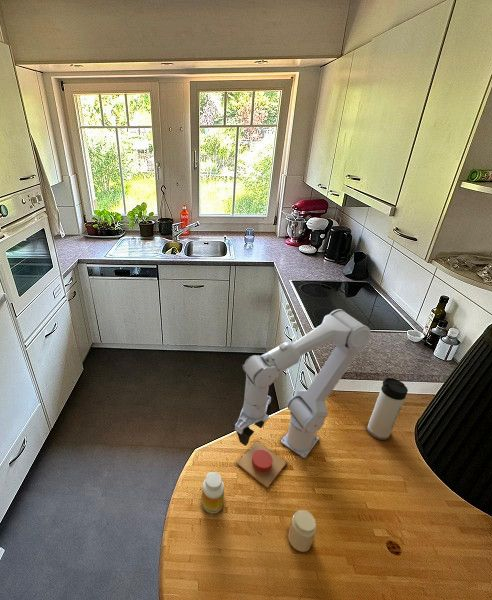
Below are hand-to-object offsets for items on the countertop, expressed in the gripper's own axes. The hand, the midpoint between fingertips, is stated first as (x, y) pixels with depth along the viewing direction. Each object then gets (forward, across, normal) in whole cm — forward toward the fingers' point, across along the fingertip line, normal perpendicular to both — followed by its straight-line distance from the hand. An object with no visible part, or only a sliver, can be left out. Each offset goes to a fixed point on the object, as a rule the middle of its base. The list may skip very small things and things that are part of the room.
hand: (251, 434), depth 89 cm
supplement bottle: (+10, -17, 0) cm, 20 cm away
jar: (+10, -10, -21) cm, 25 cm away
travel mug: (+10, +35, -25) cm, 44 cm away
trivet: (+10, +1, -4) cm, 11 cm away
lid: (+8, +1, -4) cm, 9 cm away
